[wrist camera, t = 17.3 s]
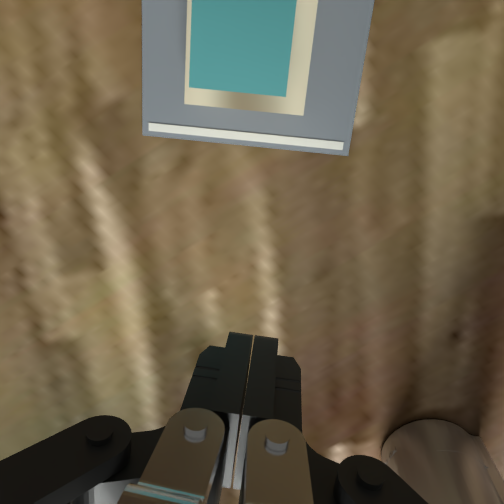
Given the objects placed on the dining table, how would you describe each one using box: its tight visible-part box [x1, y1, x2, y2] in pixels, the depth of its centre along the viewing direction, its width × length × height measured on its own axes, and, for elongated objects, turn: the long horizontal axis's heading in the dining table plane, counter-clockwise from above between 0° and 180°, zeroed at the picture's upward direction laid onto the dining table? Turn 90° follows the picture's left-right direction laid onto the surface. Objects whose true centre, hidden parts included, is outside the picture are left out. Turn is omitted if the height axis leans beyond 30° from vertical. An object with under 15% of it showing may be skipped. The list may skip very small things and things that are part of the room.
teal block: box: [189, 0, 297, 97], centre depth 25 cm, size 5×5×7 cm
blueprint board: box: [142, 0, 374, 156], centre depth 33 cm, size 16×14×1 cm
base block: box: [184, 0, 318, 116], centre depth 31 cm, size 8×8×4 cm
